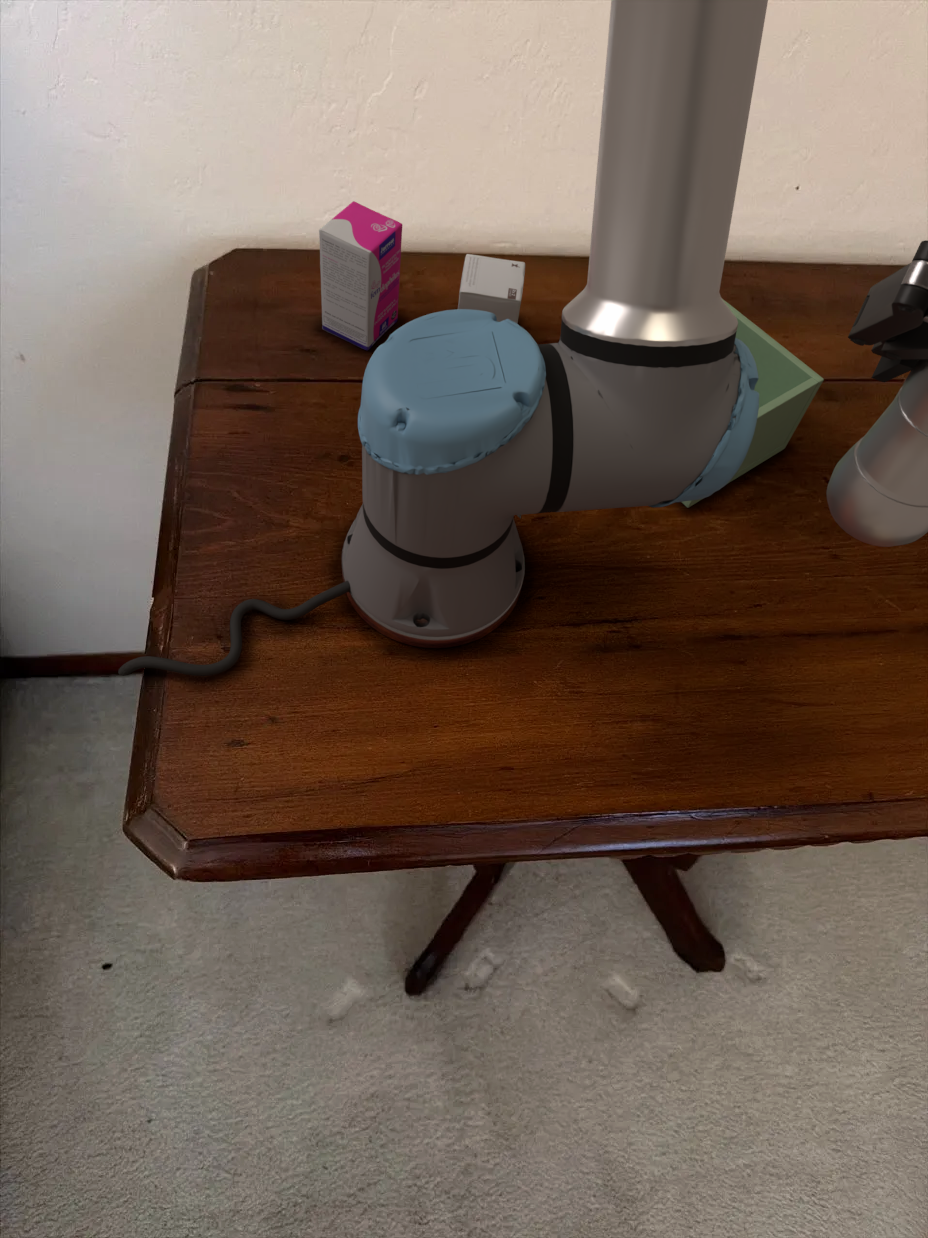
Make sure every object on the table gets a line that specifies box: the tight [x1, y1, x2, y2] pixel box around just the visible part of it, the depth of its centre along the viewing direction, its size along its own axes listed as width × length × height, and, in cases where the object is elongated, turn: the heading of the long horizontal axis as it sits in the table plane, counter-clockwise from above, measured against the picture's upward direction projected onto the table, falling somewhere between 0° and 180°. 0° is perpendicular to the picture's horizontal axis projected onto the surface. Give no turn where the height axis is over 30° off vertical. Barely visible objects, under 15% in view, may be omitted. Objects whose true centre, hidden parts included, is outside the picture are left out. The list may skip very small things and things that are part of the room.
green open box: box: [681, 298, 825, 508], centre depth 82 cm, size 14×14×9 cm
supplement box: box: [318, 201, 403, 351], centre depth 85 cm, size 6×6×12 cm
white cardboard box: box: [457, 253, 526, 324], centre depth 88 cm, size 6×6×7 cm
